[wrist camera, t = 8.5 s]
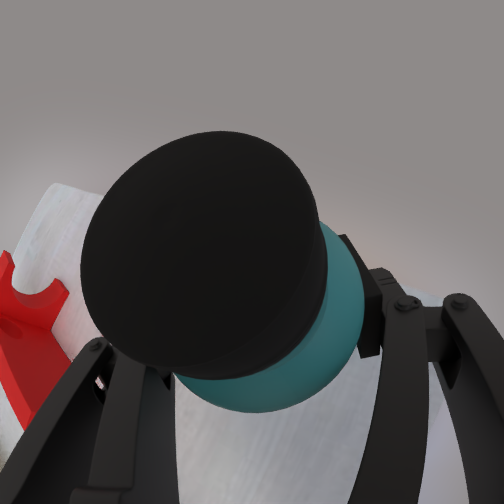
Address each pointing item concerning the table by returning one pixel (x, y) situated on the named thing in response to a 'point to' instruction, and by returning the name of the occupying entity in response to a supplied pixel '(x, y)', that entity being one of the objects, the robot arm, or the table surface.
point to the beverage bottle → (223, 273)
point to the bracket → (29, 343)
